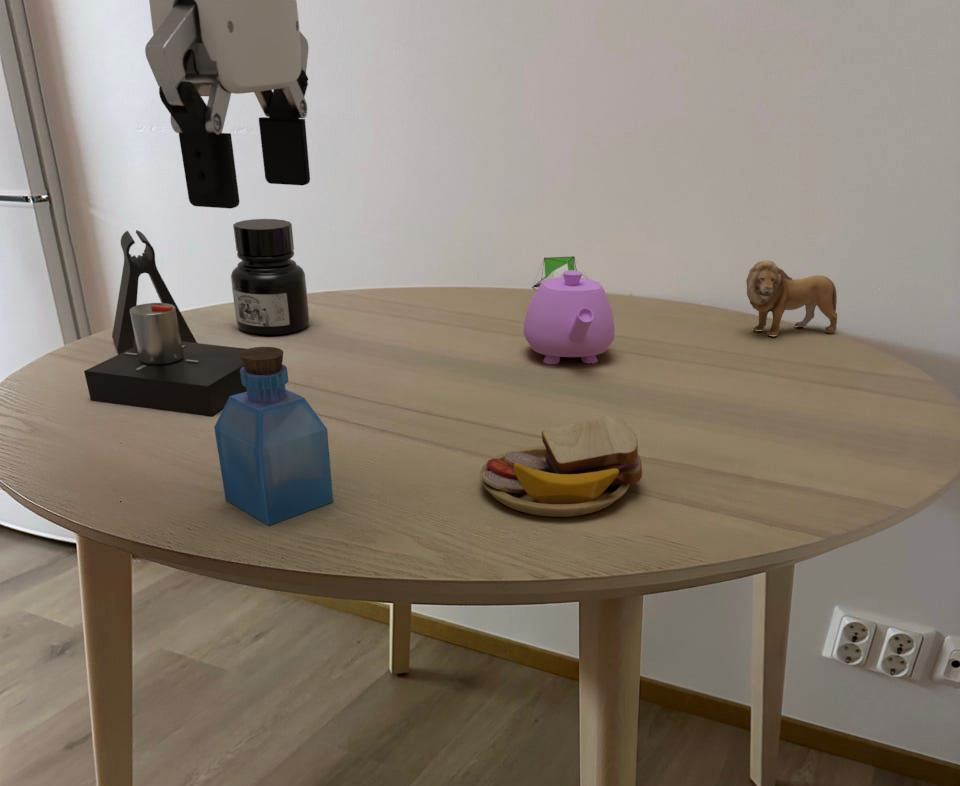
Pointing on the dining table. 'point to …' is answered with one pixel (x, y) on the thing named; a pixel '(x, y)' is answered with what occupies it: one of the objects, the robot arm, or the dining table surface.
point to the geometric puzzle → (556, 267)
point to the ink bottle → (268, 279)
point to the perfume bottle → (272, 444)
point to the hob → (171, 380)
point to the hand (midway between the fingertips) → (253, 194)
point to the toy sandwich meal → (567, 469)
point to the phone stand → (129, 289)
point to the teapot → (569, 319)
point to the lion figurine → (789, 295)
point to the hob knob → (156, 333)
